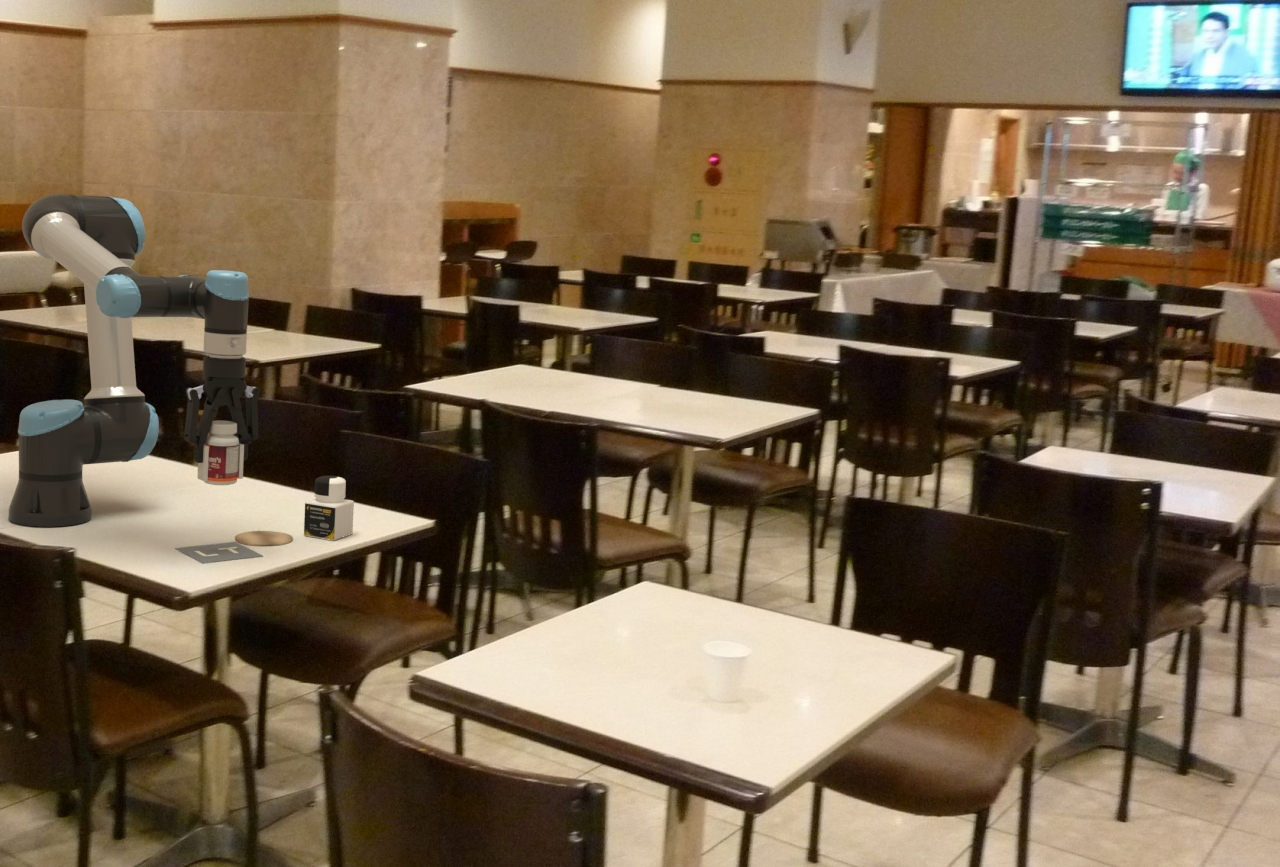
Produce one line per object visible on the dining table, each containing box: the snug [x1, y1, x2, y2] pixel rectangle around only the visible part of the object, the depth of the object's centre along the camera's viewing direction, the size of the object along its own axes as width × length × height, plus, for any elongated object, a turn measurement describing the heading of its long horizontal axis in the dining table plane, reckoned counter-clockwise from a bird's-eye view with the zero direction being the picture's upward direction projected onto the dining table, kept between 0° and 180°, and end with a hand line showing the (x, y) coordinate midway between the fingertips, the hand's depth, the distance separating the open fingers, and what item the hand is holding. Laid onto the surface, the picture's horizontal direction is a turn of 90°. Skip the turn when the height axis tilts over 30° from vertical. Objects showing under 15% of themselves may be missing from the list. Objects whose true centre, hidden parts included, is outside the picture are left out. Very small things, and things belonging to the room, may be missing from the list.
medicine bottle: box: [303, 475, 355, 541], centre depth 276 cm, size 7×7×12 cm
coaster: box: [234, 530, 294, 547], centre depth 270 cm, size 11×11×1 cm
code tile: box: [174, 541, 264, 564], centre depth 258 cm, size 12×12×1 cm
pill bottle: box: [203, 420, 239, 486], centre depth 255 cm, size 6×6×11 cm
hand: (220, 478), depth 256 cm, fingers closed on pill bottle, 6 cm apart
